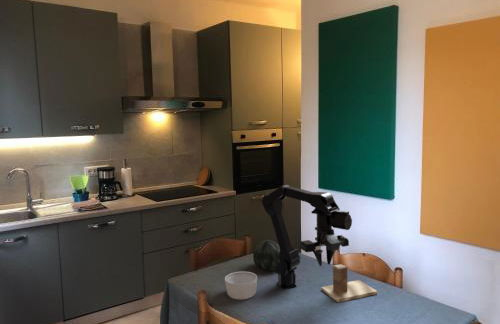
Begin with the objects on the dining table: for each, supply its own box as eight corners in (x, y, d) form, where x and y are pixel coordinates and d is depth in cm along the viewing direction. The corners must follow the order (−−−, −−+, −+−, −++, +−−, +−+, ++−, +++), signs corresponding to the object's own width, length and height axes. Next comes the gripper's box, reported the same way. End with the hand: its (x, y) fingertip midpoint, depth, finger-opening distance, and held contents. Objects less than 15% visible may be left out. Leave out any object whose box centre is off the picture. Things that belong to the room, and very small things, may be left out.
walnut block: (338, 293, 157) (338, 268, 156) (333, 289, 161) (332, 265, 160) (347, 291, 159) (347, 267, 158) (341, 288, 162) (341, 263, 161)
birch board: (337, 302, 153) (337, 299, 153) (321, 290, 164) (321, 287, 164) (377, 294, 159) (377, 291, 159) (359, 282, 170) (359, 279, 170)
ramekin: (219, 299, 159) (219, 282, 158) (232, 285, 171) (232, 269, 170) (251, 303, 154) (250, 286, 154) (262, 289, 167) (261, 273, 166)
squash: (272, 248, 201) (257, 230, 193) (295, 256, 190) (280, 238, 182) (256, 272, 195) (241, 255, 187) (279, 281, 184) (264, 264, 176)
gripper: (312, 234, 144) (313, 276, 145) (357, 228, 150) (357, 268, 152) (298, 226, 154) (299, 266, 156) (340, 221, 160) (340, 258, 162)
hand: (324, 265), depth 156 cm, fingers open, 3 cm apart
